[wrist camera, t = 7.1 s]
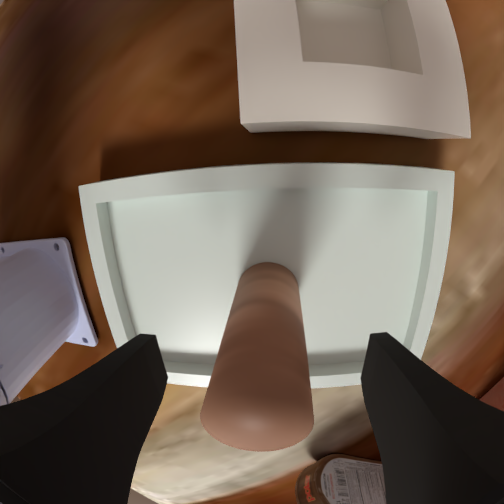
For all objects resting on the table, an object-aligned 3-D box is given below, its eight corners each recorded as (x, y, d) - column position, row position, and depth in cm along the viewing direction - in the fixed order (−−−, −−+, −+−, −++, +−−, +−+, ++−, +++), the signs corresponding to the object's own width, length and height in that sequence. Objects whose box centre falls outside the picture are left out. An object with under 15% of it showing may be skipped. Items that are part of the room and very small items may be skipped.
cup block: (250, 132, 13) (240, 123, 9) (241, -17, 10) (230, -59, 6) (426, 139, 12) (470, 138, 8) (403, -5, 9) (431, -36, 5)
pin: (239, 316, 15) (209, 448, 7) (235, 262, 14) (190, 385, 6) (298, 315, 14) (308, 450, 7) (298, 261, 13) (319, 387, 6)
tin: (292, 456, 21) (291, 534, 13) (314, 441, 20) (319, 526, 12) (393, 473, 22) (404, 528, 14) (413, 461, 21) (428, 517, 13)
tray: (139, 359, 18) (128, 377, 16) (99, 181, 14) (78, 186, 12) (404, 356, 16) (414, 376, 14) (434, 168, 12) (454, 171, 10)
